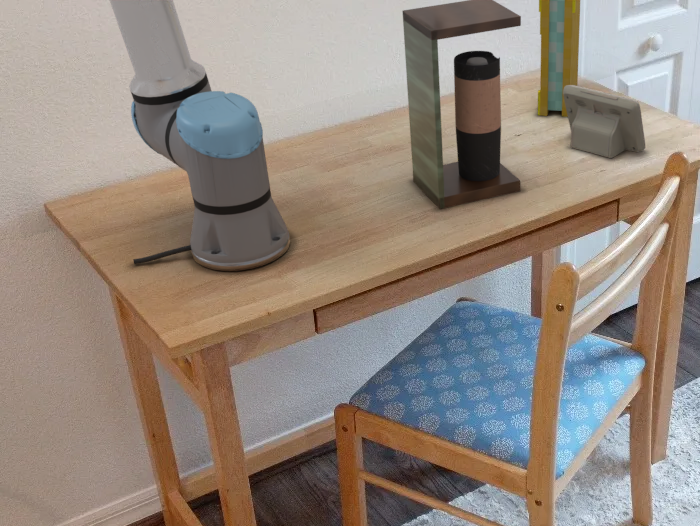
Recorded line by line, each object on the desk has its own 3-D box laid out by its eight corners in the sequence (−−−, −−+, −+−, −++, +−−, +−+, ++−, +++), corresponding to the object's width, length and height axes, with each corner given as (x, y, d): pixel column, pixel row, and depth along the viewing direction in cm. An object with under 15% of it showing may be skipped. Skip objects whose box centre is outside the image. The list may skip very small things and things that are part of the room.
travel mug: (451, 179, 172) (446, 64, 160) (464, 161, 178) (461, 48, 166) (494, 184, 170) (493, 67, 158) (506, 165, 176) (505, 52, 164)
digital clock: (650, 152, 183) (655, 96, 177) (615, 166, 179) (619, 109, 173) (587, 127, 194) (589, 73, 188) (553, 140, 189) (554, 85, 183)
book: (571, 116, 198) (575, -14, 184) (537, 115, 200) (539, -15, 185) (580, 86, 212) (585, -38, 197) (549, 85, 213) (551, -38, 199)
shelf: (439, 209, 167) (431, 30, 150) (413, 181, 176) (402, 10, 159) (520, 191, 172) (521, 16, 155) (490, 165, 181) (488, -3, 164)
